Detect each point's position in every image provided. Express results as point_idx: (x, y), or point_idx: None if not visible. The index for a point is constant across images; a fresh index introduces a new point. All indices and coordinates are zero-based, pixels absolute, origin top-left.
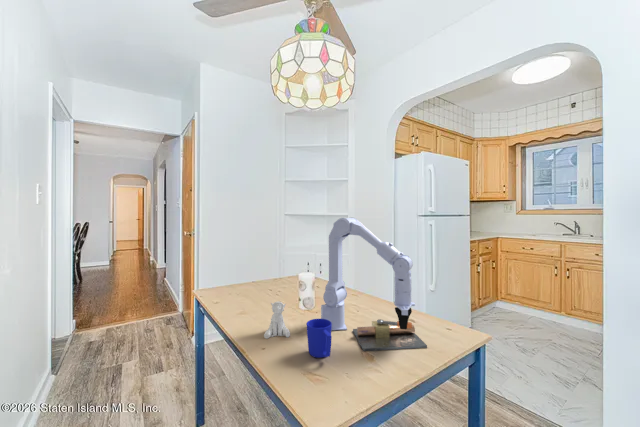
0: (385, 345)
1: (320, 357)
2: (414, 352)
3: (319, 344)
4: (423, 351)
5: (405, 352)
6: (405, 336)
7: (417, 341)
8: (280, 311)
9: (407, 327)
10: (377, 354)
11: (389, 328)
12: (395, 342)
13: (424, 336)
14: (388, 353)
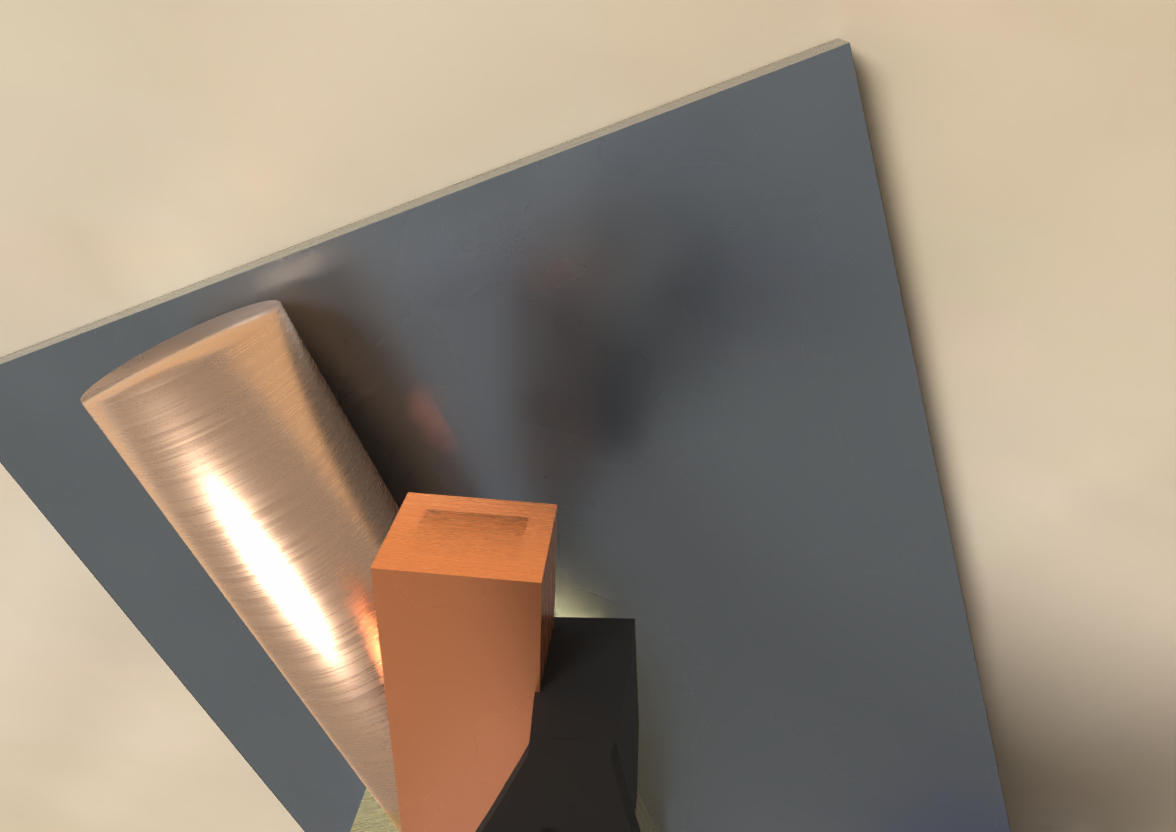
0: (921, 760)
1: None
2: (1073, 334)
3: None
4: (1028, 145)
5: (1068, 483)
6: (476, 468)
7: (663, 257)
8: None
9: (552, 607)
10: (1121, 812)
11: None
12: (786, 635)
13: (208, 37)
14: (1096, 703)
